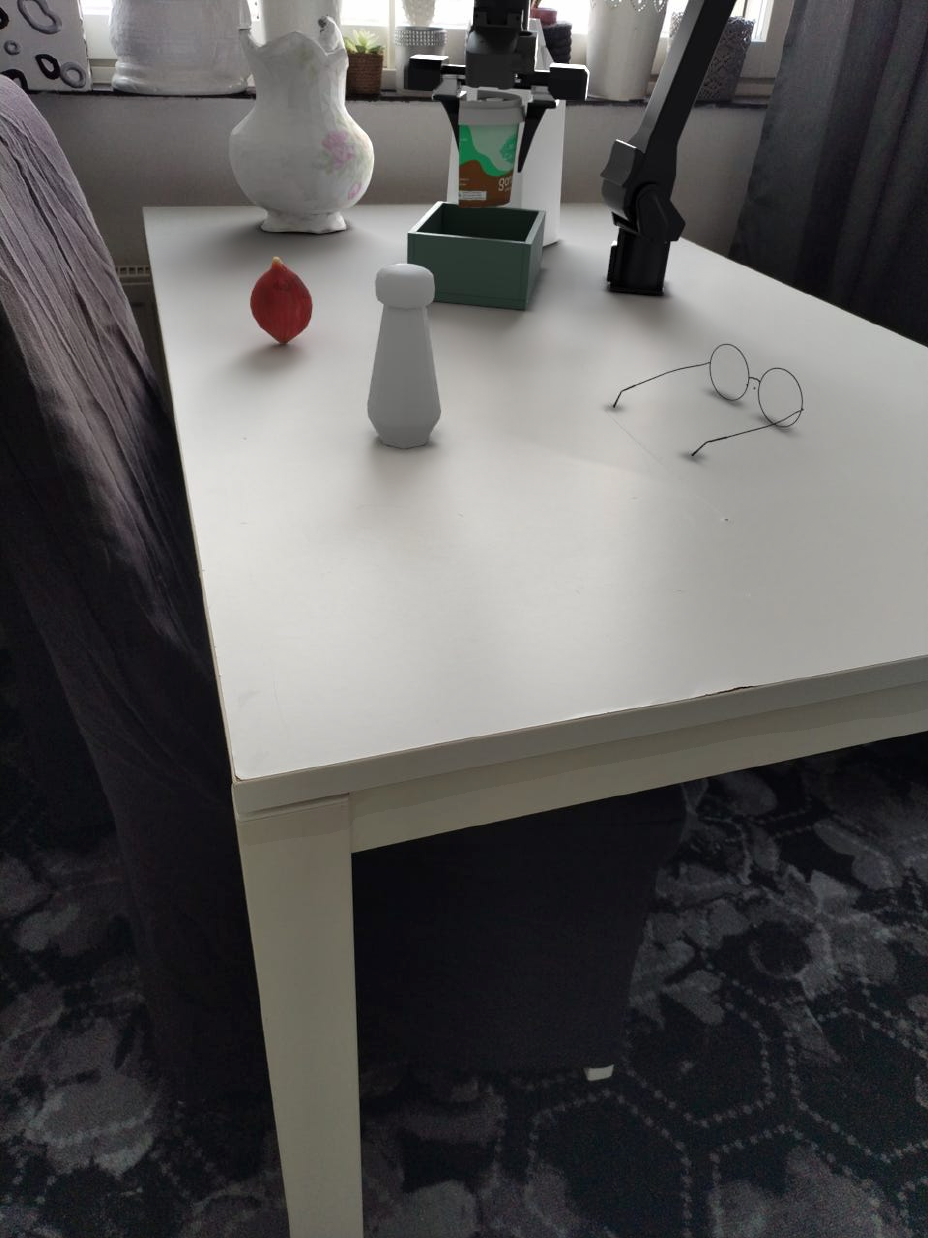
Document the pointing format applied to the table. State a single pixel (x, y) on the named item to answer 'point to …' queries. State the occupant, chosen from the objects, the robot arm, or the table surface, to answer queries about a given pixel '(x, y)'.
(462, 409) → the table surface
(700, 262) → the table surface
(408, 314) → the salt shaker
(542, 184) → the milk
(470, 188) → the food container
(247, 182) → the ceramic pitcher
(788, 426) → the eyeglasses
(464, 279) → the green open box
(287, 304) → the onion
